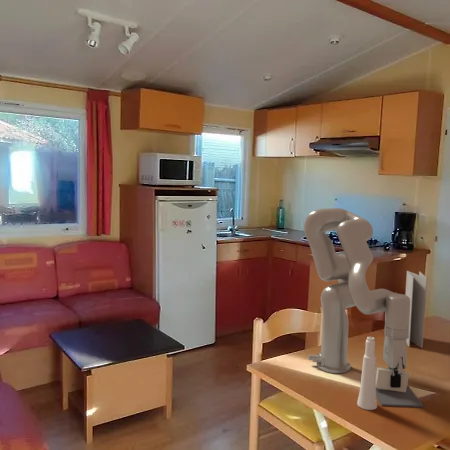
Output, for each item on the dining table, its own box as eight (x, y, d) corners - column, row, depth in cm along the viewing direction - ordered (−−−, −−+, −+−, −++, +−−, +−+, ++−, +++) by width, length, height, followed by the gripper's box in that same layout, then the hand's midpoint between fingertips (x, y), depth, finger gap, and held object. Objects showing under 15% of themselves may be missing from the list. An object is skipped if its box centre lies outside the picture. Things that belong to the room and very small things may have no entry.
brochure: (422, 348, 195) (427, 278, 192) (408, 347, 196) (413, 277, 193) (415, 336, 209) (420, 271, 206) (402, 335, 210) (406, 270, 207)
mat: (381, 405, 145) (381, 404, 145) (369, 385, 159) (369, 384, 159) (423, 407, 145) (423, 405, 145) (407, 387, 159) (408, 385, 159)
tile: (375, 387, 154) (379, 369, 153) (373, 385, 156) (377, 366, 155) (405, 392, 153) (409, 373, 153) (403, 389, 155) (407, 371, 155)
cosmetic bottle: (381, 407, 145) (385, 339, 142) (368, 412, 141) (372, 342, 139) (365, 399, 150) (369, 333, 147) (353, 403, 146) (356, 336, 144)
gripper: (378, 323, 161) (375, 375, 162) (392, 339, 145) (390, 396, 147) (400, 324, 160) (397, 375, 162) (417, 340, 144) (414, 396, 146)
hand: (394, 384), depth 154 cm, fingers closed on tile, 2 cm apart
